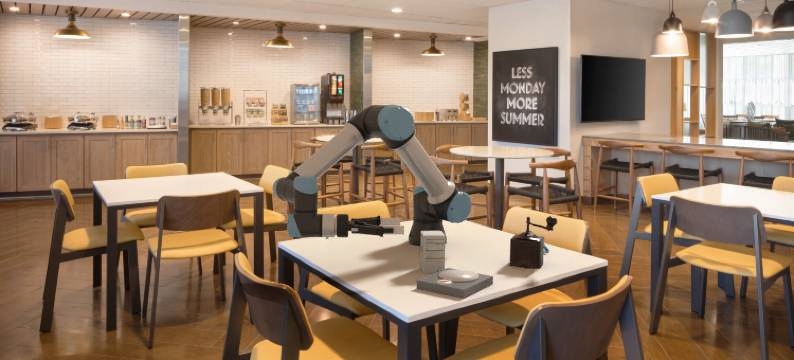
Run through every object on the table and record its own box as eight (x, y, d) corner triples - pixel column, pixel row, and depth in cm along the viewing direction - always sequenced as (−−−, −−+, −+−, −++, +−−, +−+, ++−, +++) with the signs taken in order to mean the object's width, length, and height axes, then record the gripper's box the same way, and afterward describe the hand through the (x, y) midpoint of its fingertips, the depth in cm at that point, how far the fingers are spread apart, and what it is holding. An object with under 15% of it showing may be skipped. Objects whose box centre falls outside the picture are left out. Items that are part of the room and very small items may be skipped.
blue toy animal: (550, 250, 228) (531, 230, 230) (538, 261, 229) (519, 240, 231) (550, 248, 239) (532, 228, 241) (538, 258, 240) (520, 239, 242)
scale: (416, 288, 185) (416, 278, 185) (447, 275, 200) (447, 266, 200) (464, 298, 176) (464, 287, 176) (492, 283, 191) (493, 274, 191)
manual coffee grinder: (507, 266, 212) (509, 214, 210) (514, 259, 222) (515, 209, 220) (554, 271, 206) (557, 217, 204) (559, 263, 216) (561, 212, 214)
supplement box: (419, 267, 209) (420, 230, 208) (441, 267, 210) (442, 230, 208) (422, 273, 202) (423, 235, 200) (445, 273, 202) (445, 235, 201)
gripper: (336, 229, 214) (398, 230, 216) (335, 245, 189) (405, 245, 191) (336, 208, 213) (398, 208, 215) (335, 221, 188) (406, 221, 190)
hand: (402, 226), depth 203 cm, fingers open, 13 cm apart
